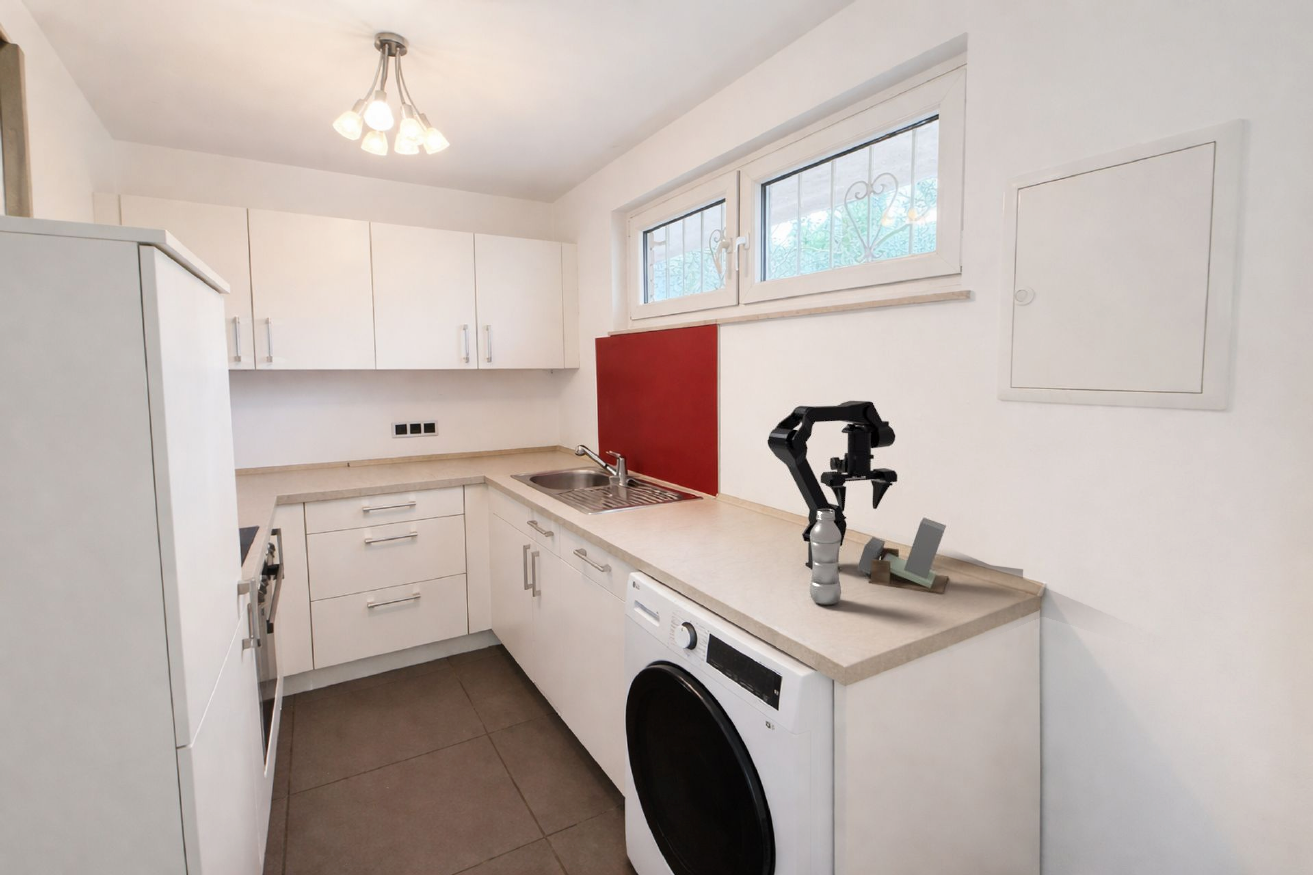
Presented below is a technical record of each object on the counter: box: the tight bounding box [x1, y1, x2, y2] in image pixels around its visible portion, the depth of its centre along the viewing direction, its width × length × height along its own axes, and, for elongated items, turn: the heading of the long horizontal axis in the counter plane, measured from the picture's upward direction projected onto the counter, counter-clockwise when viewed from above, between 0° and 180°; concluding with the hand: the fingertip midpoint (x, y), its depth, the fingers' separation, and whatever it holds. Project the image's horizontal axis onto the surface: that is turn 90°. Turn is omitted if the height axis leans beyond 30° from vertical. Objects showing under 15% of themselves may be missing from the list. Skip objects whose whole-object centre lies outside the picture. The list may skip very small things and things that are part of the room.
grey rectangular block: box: [904, 517, 947, 579], centre depth 140 cm, size 5×5×12 cm
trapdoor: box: [856, 536, 938, 588], centre depth 143 cm, size 16×9×6 cm, turn 59°
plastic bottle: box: [809, 509, 842, 606], centre depth 129 cm, size 6×7×20 cm
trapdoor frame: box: [868, 547, 949, 595], centre depth 142 cm, size 16×12×6 cm
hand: (858, 509), depth 158 cm, fingers open, 9 cm apart
